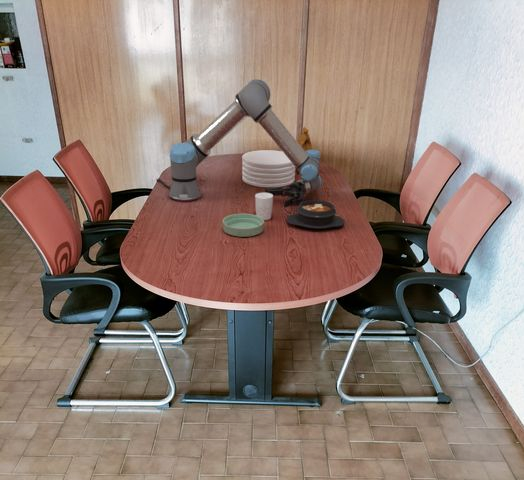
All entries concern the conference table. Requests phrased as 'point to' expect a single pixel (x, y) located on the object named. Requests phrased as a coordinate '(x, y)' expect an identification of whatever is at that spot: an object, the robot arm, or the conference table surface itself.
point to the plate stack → (267, 169)
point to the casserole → (315, 215)
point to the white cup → (264, 205)
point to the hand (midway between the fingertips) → (273, 200)
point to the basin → (243, 225)
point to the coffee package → (305, 141)
